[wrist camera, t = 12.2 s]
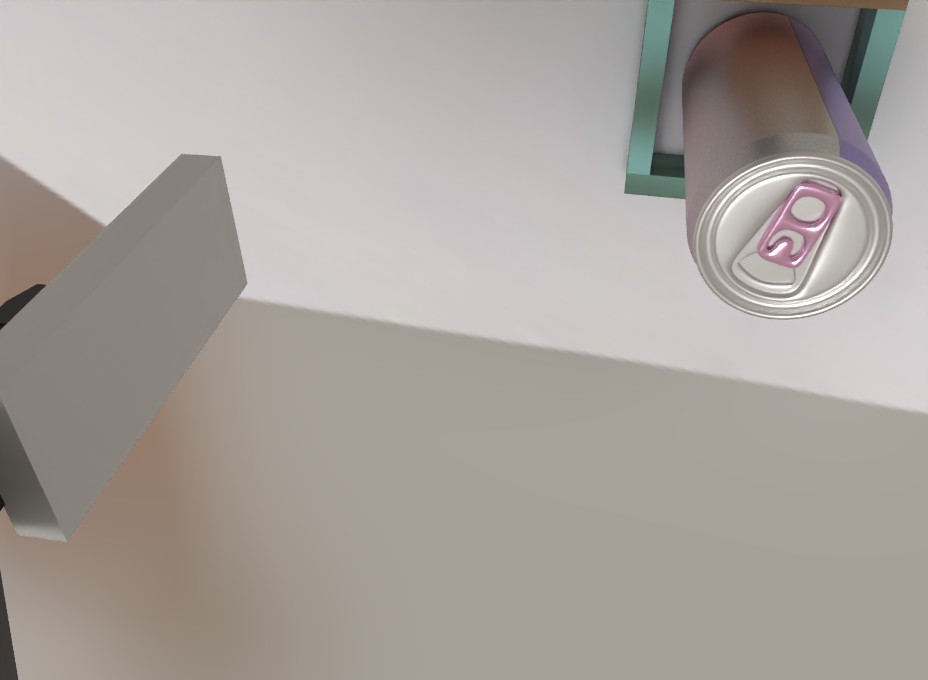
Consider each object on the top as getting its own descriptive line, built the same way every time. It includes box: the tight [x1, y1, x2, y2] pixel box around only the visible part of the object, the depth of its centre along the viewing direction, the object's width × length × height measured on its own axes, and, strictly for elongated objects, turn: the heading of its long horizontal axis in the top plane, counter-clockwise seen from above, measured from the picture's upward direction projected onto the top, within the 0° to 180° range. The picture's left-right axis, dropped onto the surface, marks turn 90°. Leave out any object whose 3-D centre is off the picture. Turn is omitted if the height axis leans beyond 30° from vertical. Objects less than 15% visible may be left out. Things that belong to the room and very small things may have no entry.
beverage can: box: [682, 13, 893, 319], centre depth 32 cm, size 6×6×15 cm
